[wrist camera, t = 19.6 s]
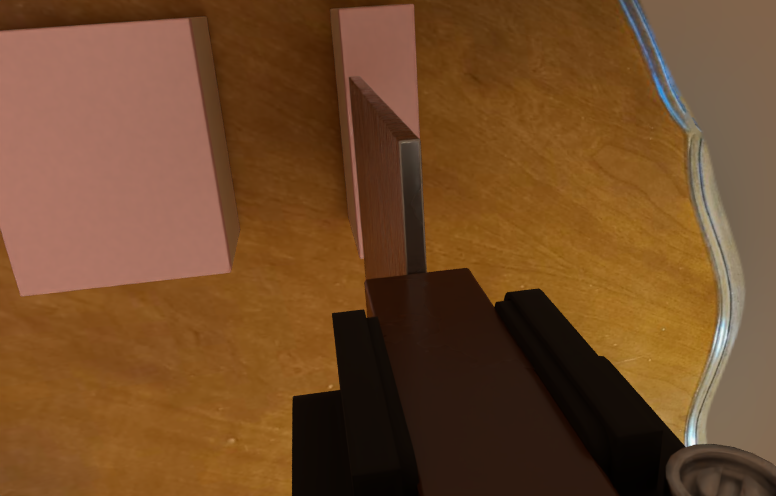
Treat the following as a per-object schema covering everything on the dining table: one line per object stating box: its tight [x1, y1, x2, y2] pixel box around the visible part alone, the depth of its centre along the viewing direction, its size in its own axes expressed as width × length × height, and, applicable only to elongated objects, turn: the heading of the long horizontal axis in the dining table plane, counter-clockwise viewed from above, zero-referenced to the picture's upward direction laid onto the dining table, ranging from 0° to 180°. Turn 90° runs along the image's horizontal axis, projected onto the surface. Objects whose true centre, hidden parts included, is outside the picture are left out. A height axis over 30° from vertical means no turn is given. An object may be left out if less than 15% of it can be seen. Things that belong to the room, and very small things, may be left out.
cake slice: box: [330, 4, 420, 259], centre depth 34 cm, size 12×3×7 cm, turn 4°
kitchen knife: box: [349, 76, 620, 496], centre depth 14 cm, size 8×2×18 cm, turn 4°
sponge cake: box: [0, 16, 240, 296], centre depth 32 cm, size 12×10×7 cm
